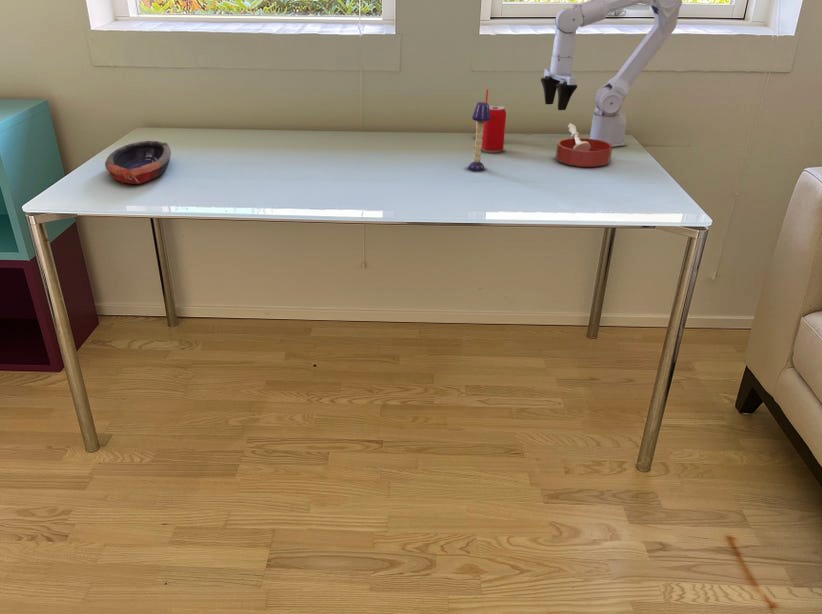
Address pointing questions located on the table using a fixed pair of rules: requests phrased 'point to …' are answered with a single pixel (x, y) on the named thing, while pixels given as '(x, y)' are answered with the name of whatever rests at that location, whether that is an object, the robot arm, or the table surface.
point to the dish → (138, 161)
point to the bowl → (584, 153)
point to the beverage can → (494, 130)
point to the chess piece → (578, 140)
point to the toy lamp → (479, 133)
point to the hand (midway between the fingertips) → (555, 107)
